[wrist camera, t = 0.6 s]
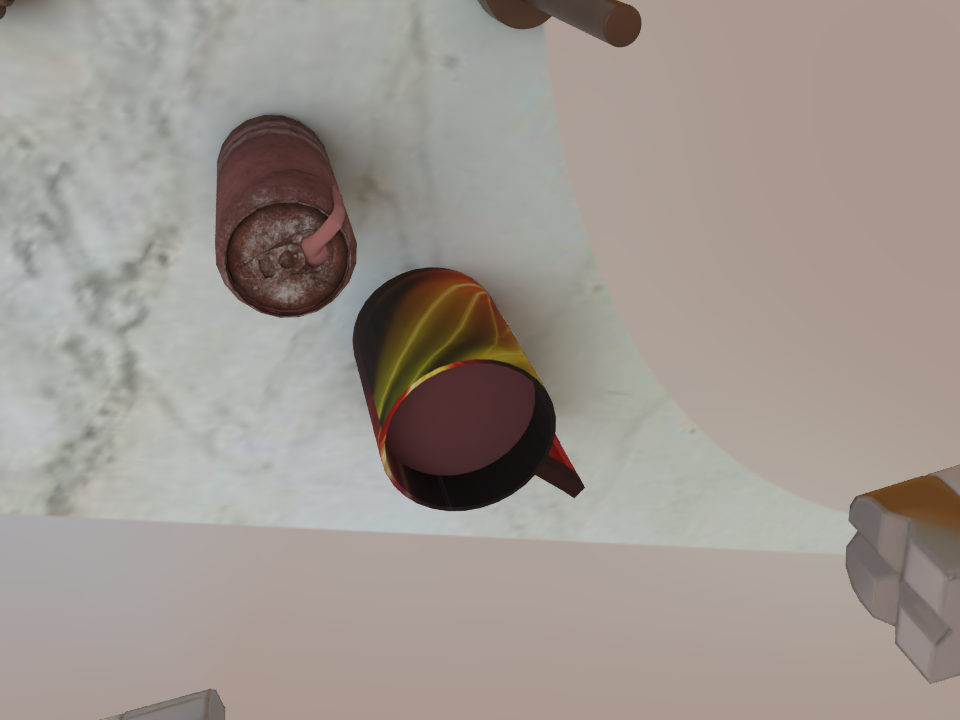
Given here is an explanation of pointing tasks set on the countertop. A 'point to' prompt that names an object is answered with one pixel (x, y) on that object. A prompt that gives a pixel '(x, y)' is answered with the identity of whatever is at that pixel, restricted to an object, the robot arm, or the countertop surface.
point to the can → (281, 219)
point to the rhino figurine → (4, 6)
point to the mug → (454, 395)
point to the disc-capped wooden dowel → (571, 16)
